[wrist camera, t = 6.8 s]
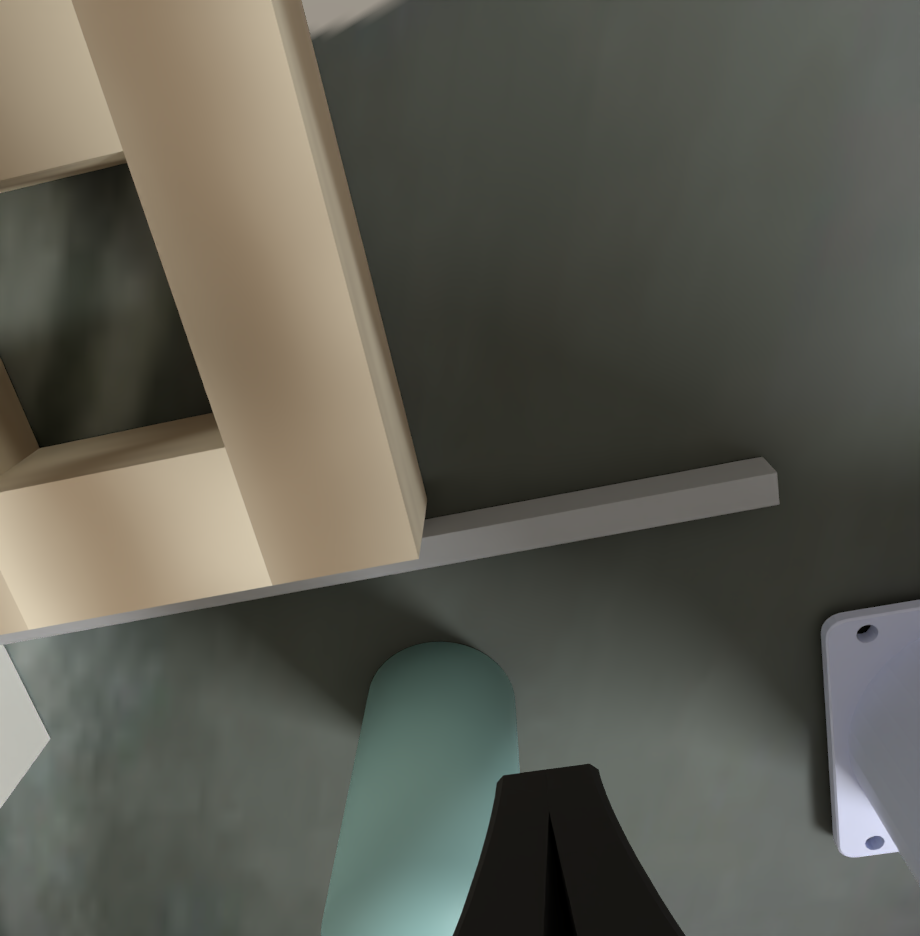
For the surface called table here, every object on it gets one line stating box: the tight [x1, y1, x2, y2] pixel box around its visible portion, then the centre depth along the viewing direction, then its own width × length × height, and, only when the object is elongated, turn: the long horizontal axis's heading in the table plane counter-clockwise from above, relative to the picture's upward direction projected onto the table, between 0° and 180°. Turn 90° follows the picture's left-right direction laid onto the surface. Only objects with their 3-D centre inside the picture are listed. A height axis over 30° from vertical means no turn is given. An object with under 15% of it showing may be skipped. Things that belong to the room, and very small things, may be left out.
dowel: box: [321, 642, 520, 936], centre depth 19 cm, size 4×4×7 cm
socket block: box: [0, 0, 427, 635], centre depth 17 cm, size 12×12×3 cm
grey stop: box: [0, 457, 779, 808], centre depth 15 cm, size 23×22×6 cm
